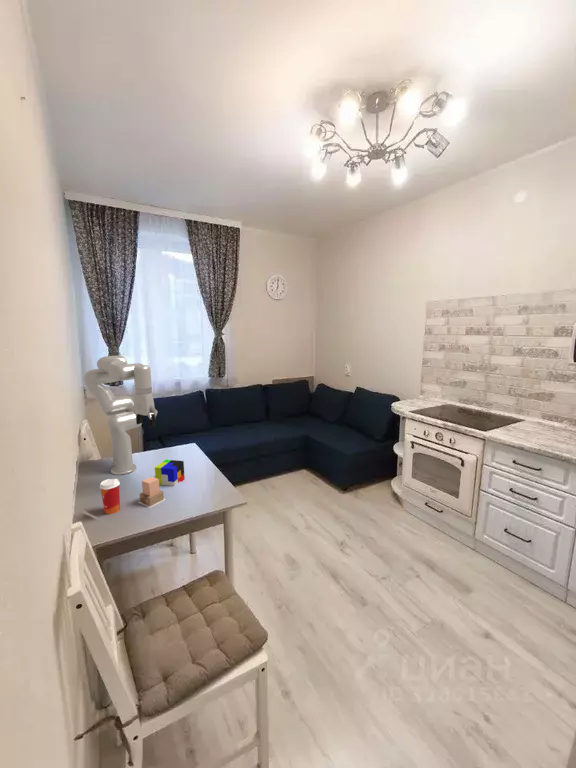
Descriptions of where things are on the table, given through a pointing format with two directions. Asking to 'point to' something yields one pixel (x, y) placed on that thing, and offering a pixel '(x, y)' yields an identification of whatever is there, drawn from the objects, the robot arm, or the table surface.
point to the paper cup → (110, 495)
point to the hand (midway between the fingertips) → (146, 425)
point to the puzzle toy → (170, 472)
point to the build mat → (151, 506)
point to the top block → (150, 486)
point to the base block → (151, 498)
